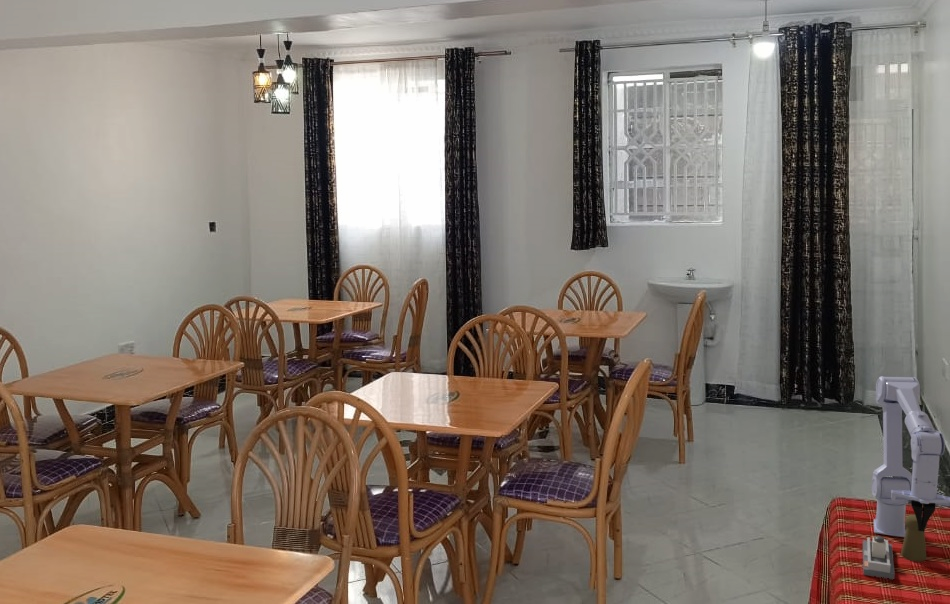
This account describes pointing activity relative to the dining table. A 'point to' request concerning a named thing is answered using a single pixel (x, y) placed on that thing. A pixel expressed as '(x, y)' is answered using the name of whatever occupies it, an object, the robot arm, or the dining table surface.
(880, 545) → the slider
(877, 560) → the board
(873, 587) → the dining table surface
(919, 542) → the brown tall tapered piece
